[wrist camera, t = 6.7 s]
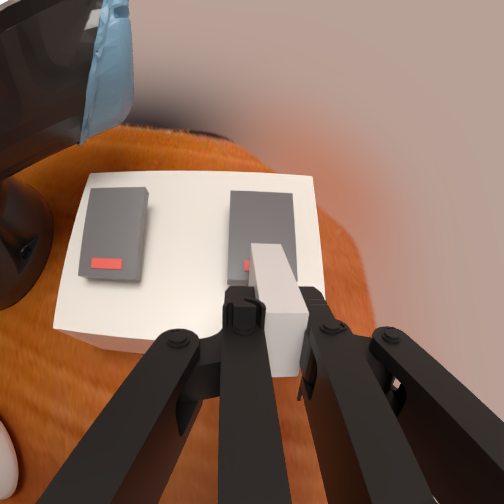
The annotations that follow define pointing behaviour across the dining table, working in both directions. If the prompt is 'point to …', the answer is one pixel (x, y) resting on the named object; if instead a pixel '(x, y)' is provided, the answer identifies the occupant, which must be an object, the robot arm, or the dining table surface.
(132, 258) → the block
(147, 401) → the robot arm
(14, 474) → the flower in vase
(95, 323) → the switch box
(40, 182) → the dining table surface
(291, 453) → the dining table surface
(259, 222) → the rocker outer
